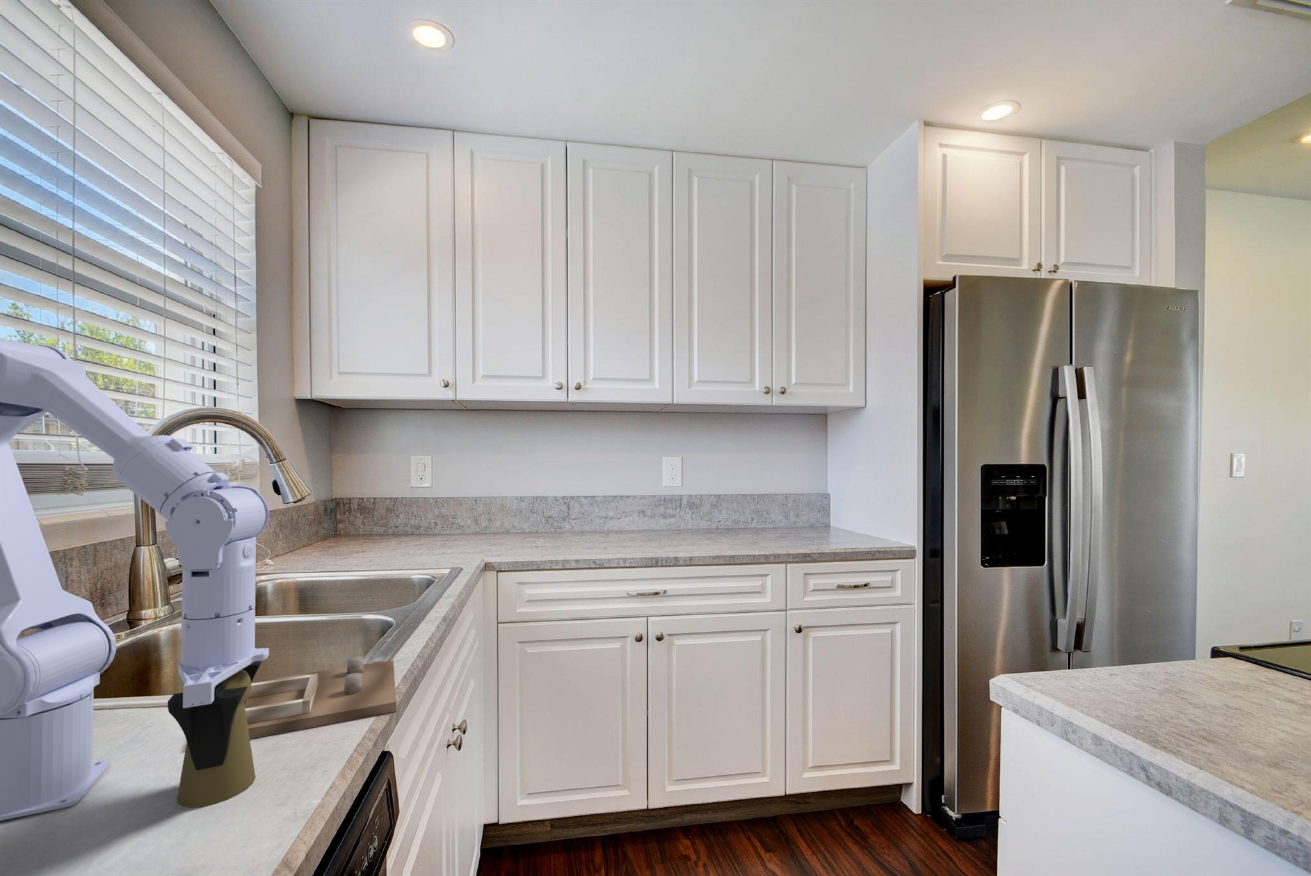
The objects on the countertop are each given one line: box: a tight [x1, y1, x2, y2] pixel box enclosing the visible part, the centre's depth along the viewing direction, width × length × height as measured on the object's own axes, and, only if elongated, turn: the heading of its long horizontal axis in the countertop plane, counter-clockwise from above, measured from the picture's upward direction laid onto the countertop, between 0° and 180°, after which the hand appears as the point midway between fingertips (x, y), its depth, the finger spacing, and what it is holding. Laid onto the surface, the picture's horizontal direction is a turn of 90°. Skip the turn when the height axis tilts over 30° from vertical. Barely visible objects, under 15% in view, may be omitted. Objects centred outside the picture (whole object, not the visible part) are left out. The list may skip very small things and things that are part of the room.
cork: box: [176, 670, 256, 808], centre depth 55 cm, size 6×6×11 cm
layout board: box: [245, 655, 397, 740], centre depth 74 cm, size 20×16×3 cm
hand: (217, 751), depth 55 cm, fingers closed on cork, 5 cm apart
